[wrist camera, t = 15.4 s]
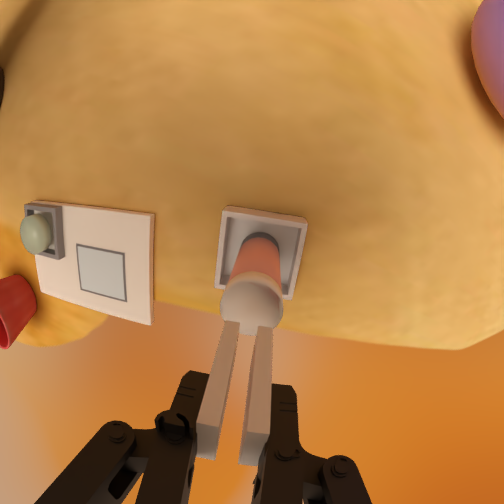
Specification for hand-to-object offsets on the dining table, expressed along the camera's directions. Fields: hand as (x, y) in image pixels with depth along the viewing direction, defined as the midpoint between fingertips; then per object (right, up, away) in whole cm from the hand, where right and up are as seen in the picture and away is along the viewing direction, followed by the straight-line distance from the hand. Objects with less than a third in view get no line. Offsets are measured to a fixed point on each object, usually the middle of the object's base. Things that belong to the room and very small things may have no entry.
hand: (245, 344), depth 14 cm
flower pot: (-39, -3, +22) cm, 45 cm away
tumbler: (+1, +5, +15) cm, 16 cm away
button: (-27, +8, +14) cm, 32 cm away
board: (-21, +4, +18) cm, 28 cm away
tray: (+1, +5, +15) cm, 16 cm away
